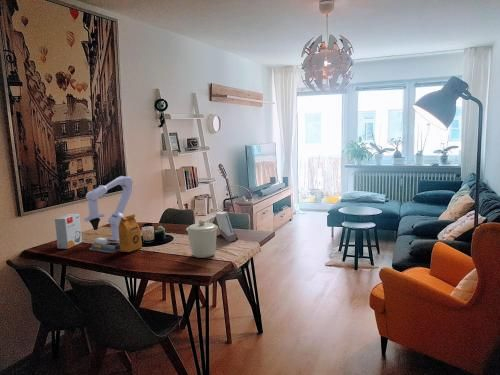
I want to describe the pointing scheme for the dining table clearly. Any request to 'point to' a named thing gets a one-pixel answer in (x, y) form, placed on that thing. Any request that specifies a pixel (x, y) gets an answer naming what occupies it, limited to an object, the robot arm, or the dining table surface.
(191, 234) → the canister
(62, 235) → the hard drive box
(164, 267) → the dining table surface
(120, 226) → the coffee package
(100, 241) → the white rectangular block
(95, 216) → the robot arm
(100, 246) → the frame
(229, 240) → the gaming console
